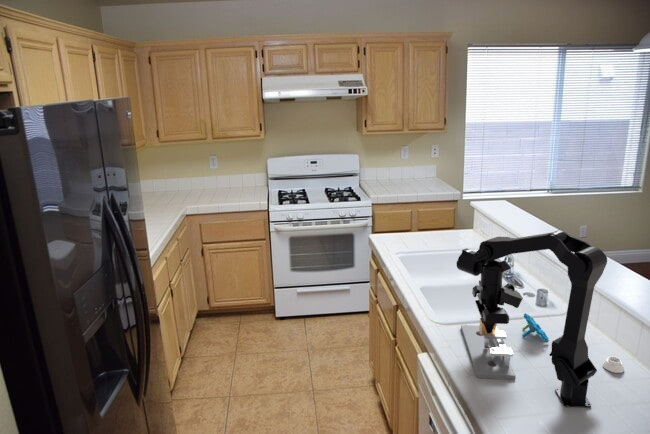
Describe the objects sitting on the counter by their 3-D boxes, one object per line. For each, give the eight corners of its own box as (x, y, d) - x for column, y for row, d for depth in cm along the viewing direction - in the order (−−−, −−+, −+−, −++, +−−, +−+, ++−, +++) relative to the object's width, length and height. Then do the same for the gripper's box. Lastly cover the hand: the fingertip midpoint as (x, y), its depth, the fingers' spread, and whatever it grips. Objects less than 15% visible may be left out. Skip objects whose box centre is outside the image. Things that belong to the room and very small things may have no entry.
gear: (553, 344, 137) (529, 318, 138) (537, 355, 139) (513, 330, 140) (546, 329, 148) (524, 306, 148) (531, 340, 149) (509, 317, 150)
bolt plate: (515, 379, 124) (515, 375, 124) (477, 377, 126) (477, 373, 125) (492, 329, 149) (492, 325, 149) (460, 328, 150) (461, 324, 150)
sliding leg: (505, 350, 135) (507, 323, 132) (480, 349, 135) (482, 323, 133) (502, 345, 137) (504, 318, 135) (478, 344, 138) (480, 318, 136)
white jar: (598, 364, 130) (612, 375, 125) (599, 355, 129) (613, 365, 124) (613, 362, 131) (628, 372, 126) (615, 353, 130) (629, 363, 125)
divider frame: (512, 367, 127) (513, 353, 126) (489, 366, 128) (490, 353, 127) (493, 327, 148) (494, 314, 147) (474, 326, 149) (474, 314, 148)
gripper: (531, 296, 121) (526, 348, 125) (511, 268, 138) (507, 314, 143) (487, 295, 122) (483, 347, 126) (473, 267, 140) (470, 314, 144)
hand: (487, 329), depth 135 cm, fingers closed on sliding leg, 3 cm apart
